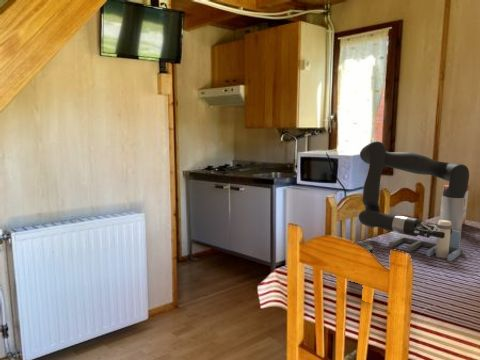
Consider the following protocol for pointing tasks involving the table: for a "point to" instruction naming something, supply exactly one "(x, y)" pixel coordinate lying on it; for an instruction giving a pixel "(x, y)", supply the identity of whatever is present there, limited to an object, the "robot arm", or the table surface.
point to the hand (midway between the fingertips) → (448, 233)
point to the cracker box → (464, 202)
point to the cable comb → (433, 245)
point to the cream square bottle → (443, 239)
